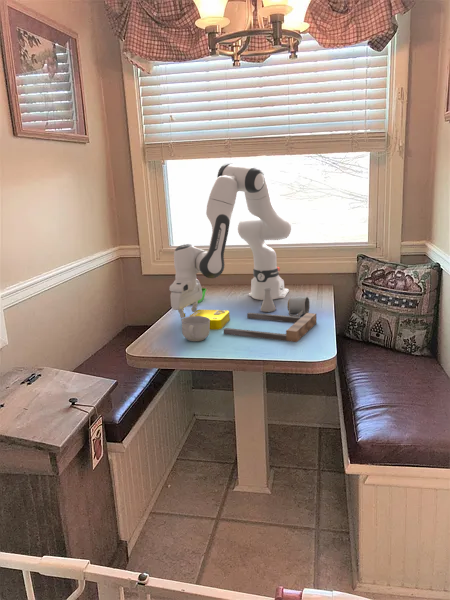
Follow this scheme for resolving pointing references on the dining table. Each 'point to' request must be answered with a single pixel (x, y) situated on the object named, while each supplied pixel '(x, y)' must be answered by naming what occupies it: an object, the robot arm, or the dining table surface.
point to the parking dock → (291, 334)
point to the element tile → (214, 317)
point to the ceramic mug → (298, 306)
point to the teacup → (195, 327)
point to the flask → (268, 302)
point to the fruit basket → (202, 294)
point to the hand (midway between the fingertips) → (188, 314)
